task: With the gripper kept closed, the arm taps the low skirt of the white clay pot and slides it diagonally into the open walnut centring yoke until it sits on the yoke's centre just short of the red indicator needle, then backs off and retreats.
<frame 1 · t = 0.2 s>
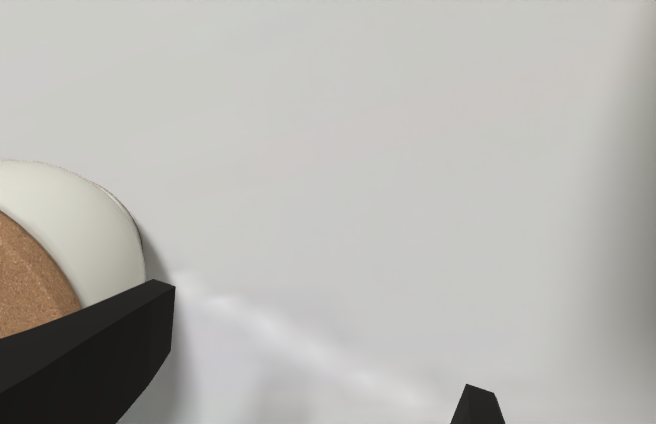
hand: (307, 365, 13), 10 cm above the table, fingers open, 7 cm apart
lidded jar: (89, 234, 27), on the table
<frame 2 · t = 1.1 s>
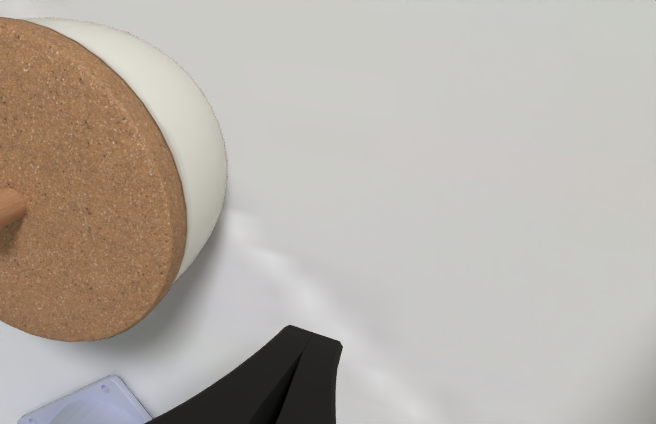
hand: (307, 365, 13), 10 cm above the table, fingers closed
lidded jar: (155, 134, 24), on the table
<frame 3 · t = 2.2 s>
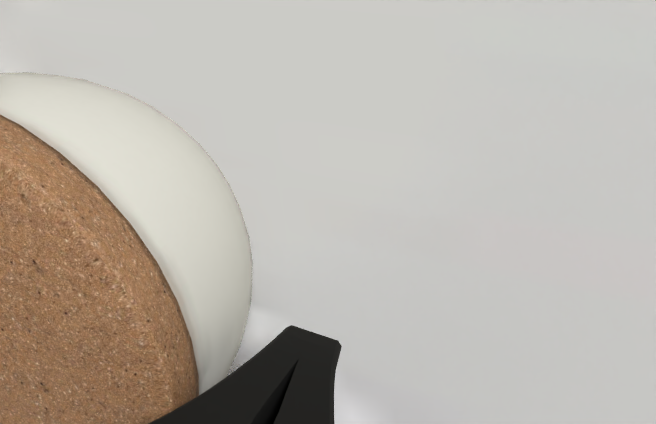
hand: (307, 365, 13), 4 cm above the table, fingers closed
lidded jar: (151, 209, 18), on the table, touching gripper
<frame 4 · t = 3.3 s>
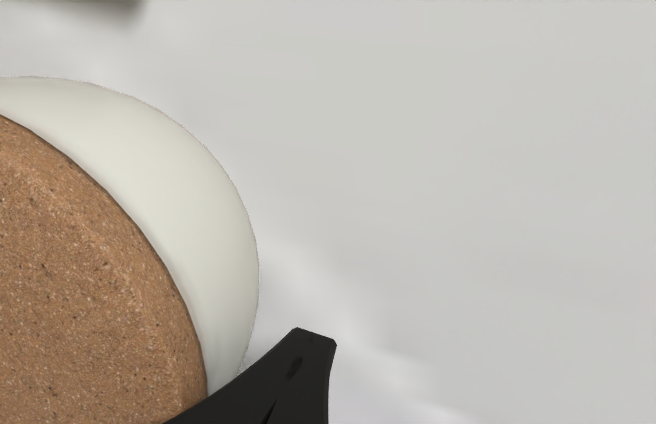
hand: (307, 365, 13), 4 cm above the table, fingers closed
lidded jar: (157, 212, 18), on the table, touching gripper
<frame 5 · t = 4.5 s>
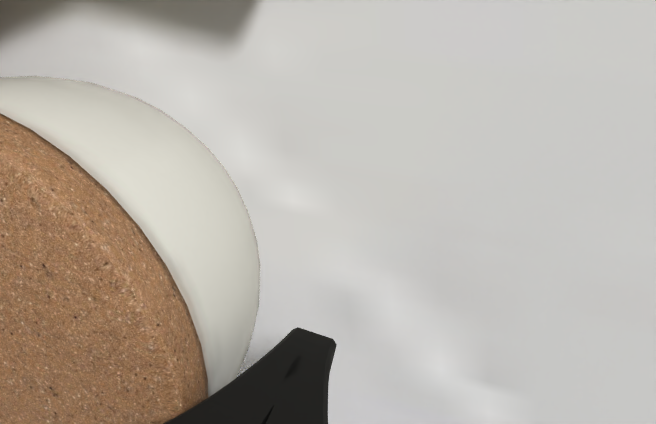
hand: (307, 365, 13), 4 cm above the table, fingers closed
lidded jar: (158, 212, 18), on the table, touching gripper
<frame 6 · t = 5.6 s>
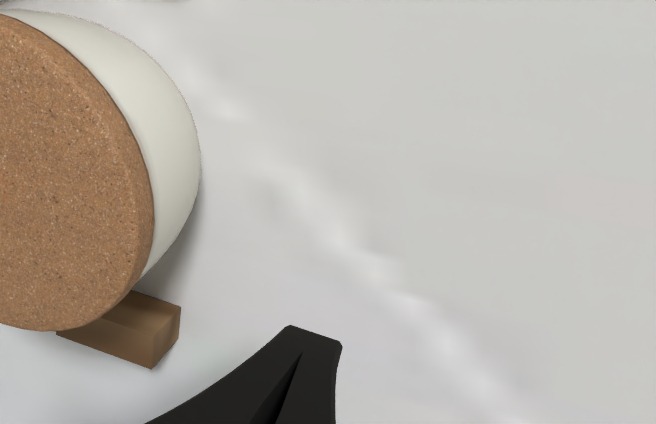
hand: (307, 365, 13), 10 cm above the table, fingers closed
lidded jar: (132, 128, 24), on the table
yoke: (140, 132, 24), on the table
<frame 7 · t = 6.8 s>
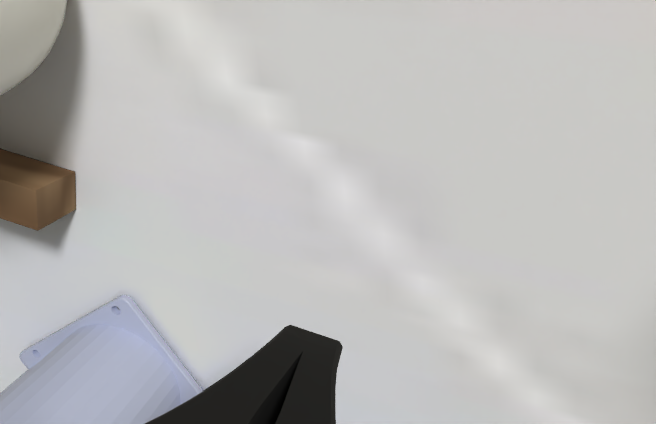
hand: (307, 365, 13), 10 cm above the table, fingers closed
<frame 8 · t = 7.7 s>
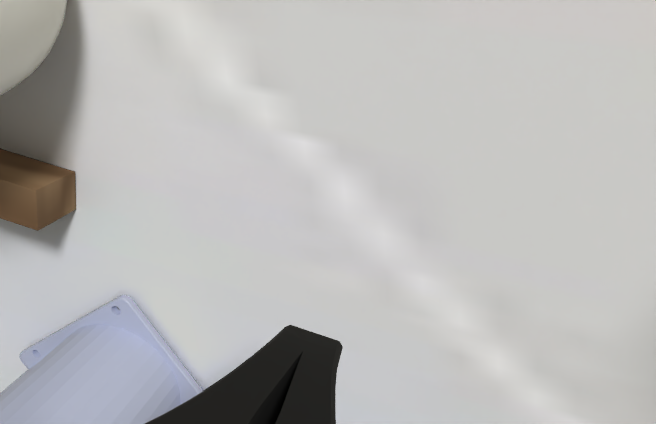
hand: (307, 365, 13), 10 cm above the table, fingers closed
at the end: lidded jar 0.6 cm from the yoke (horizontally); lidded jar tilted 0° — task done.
